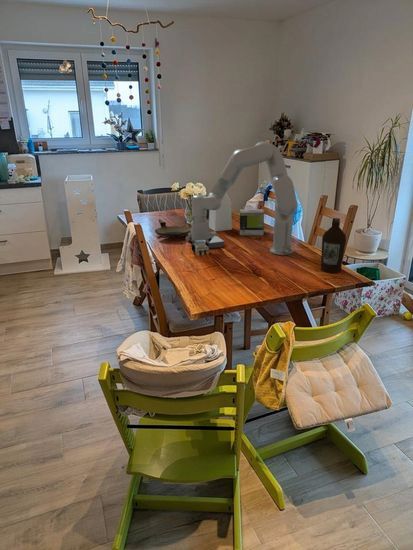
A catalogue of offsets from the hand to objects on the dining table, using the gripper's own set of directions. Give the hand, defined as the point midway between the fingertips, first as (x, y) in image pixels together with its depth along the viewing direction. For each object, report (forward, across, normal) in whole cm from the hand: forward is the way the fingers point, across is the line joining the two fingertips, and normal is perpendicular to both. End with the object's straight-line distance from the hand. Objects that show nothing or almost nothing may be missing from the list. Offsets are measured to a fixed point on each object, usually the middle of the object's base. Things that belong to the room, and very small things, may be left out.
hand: (200, 250), depth 215 cm
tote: (-3, 0, 0) cm, 3 cm away
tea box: (+1, +42, +24) cm, 48 cm away
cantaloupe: (+1, +31, +81) cm, 87 cm away
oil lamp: (+1, -6, +37) cm, 38 cm away
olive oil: (+1, +50, -48) cm, 69 cm away
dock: (+1, +10, +12) cm, 16 cm away
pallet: (+1, 0, 0) cm, 1 cm away
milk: (+1, +28, +43) cm, 51 cm away
